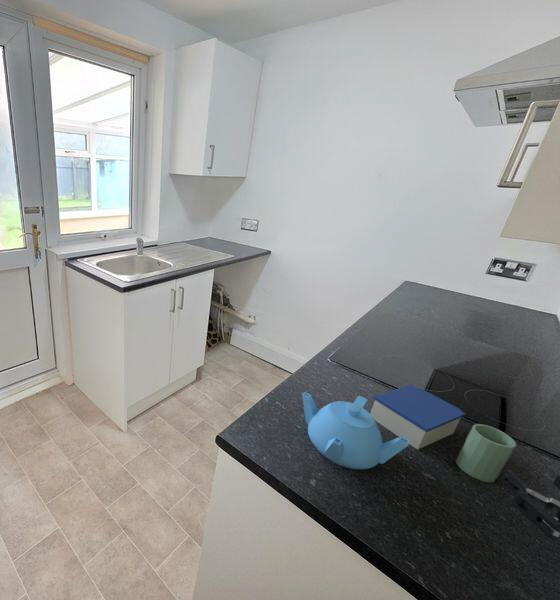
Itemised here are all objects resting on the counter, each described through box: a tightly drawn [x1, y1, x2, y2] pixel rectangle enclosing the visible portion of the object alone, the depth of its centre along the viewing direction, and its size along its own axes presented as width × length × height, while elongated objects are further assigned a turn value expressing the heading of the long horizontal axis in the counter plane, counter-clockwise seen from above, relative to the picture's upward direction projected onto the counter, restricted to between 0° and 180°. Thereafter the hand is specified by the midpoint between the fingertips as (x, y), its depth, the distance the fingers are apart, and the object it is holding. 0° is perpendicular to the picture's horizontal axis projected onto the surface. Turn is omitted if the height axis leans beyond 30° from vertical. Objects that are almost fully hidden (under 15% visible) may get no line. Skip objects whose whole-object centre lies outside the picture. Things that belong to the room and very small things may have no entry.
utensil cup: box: [455, 423, 517, 483], centre depth 62 cm, size 6×6×9 cm
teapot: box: [301, 391, 410, 470], centre depth 65 cm, size 15×15×11 cm
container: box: [369, 384, 466, 450], centre depth 75 cm, size 16×12×6 cm
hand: (531, 476), depth 54 cm, fingers open, 8 cm apart
